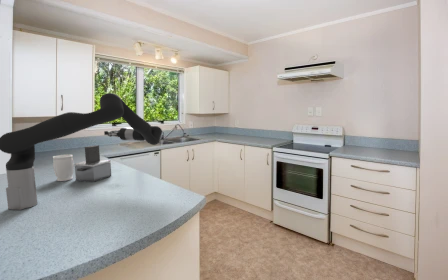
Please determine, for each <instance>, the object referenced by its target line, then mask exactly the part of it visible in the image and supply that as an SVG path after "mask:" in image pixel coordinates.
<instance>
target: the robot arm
mask: <svg viewBox="0 0 448 280" xmlns="http://www.w3.org/2000/svg"><path fill="white" fill-rule="evenodd" d="M99 105H100V108H99V109H97V110H94V111H91V112H86V113H84V112H83V113H82V112H73V111H72V112H71V111H69V112H65V113H62V114H59V115H56V116H53V117H51V118H48V119H46V120H44V121H41V122H39V123H37V124H35V125H33V126H29V127H26V128H23V129H19V130H15V131H11V132H6V133H3V135H1V136H0V151H1V152H2V153H5V154H9V155H10V158H9V159H8V161H7V162H6V163H5V171H6V179H7V187H5V192H6V194H5V195H6V200H7V201H6V202H7V208H8V210H13V211H15V210H17V211H20V210H21V211H22V210H23V209H24V210H25V209H29V208H31V207H34V206H36V205H37V204H38V196H37V195H38V194H37V187H36V185H37V184H36V176H35V175H36V174H35V166H34V165H35V164H34V163H35V160H36V148H35V145H38V144H40V143H44V142H47V141H48V142H49V141H53V140H57V139H60V138H65V137H67V136H70V135H72V134H75V133H77V132H80V131H82V130H86V129H89V128H92V127H94V126H95V127H96V126H97V125H101V124H105V123H110V122H113V121H116V120H119V119H121V118H122V119H123V120H124V121H125V122H126V123H127V124H128V125H129V126H130V127H123V126H122V127H121V128H120V129H116V130H115V129H114V130H104V132H103V134H104V135H105V136H108V137H114V138H119V139H120V140H122V141H129V142H130V141H131V142H133V141H138V142H139V141H141V142H144V141H146V142H147V143H148V144H149V145H152V146H156V145H158V144H159V142H160V139H161V136H162V133H163V130H162V128H161V127H160V126H157V125H151V124H150V123H149V122H147V121H146V120H145V119H144V118H142V117H141V116H139V115H138V114H137V113H136V112H135V111H133V110H132V108H131V107H129V106H128V105H127V104H126V102H125V101H124V100H123V99H122V98H121V97H120V95H117V94H116V93H113V92H108V93H104V94H103V95H101V97H100V98H99Z"/></svg>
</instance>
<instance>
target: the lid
mask: <svg viewBox="0 0 448 280" xmlns="http://www.w3.org/2000/svg"><path fill="white" fill-rule="evenodd" d="M100 154H101V153H100V145H98V144H97V145H96V144H95V145H89V146H88V145H87V146H84V158H85V161H84V160H83V161H80V162H77V163H76V162H74V166H76V165H77V166H90V167H94V166H98V165H101V164H105V163H109V162H111V160H108V159H101V155H100Z"/></svg>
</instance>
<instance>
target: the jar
mask: <svg viewBox="0 0 448 280" xmlns="http://www.w3.org/2000/svg"><path fill="white" fill-rule="evenodd" d="M73 155H74V154H69V153H68V154H66V153H65V154H58V155H53V156H52V159H53V162H52V163H53V164H52V165H53V171H54V174H55V176H56V181H57V182H65V181H70V180H73V179H74V177H73V174H74V170H75V162H74V159H73V157H74V156H73Z"/></svg>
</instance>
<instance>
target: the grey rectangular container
mask: <svg viewBox="0 0 448 280" xmlns="http://www.w3.org/2000/svg"><path fill="white" fill-rule="evenodd" d="M111 165H112V164H111V162H109V163H105V164H101V165H98V166H94V167H90V166H77V165H74V174H75V181H79V182H80V181H81V182H91V183H96V182H98V181H101V180H104V179H107V178H110V177H112V166H111Z"/></svg>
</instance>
